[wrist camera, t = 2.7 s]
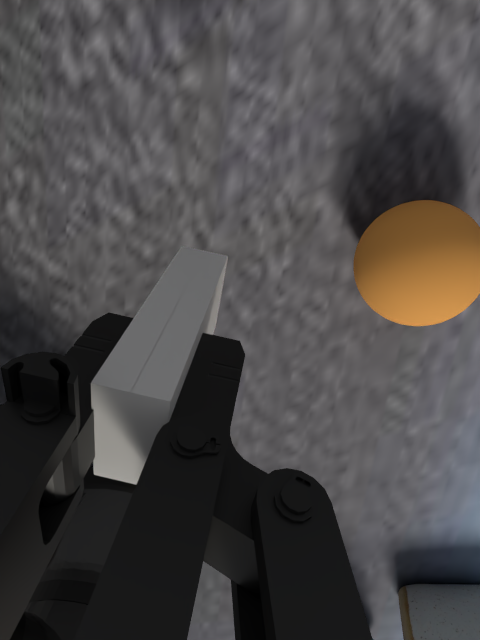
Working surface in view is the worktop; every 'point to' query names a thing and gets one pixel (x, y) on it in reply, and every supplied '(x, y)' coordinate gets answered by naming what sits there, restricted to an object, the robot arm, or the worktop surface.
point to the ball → (419, 263)
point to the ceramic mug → (440, 611)
